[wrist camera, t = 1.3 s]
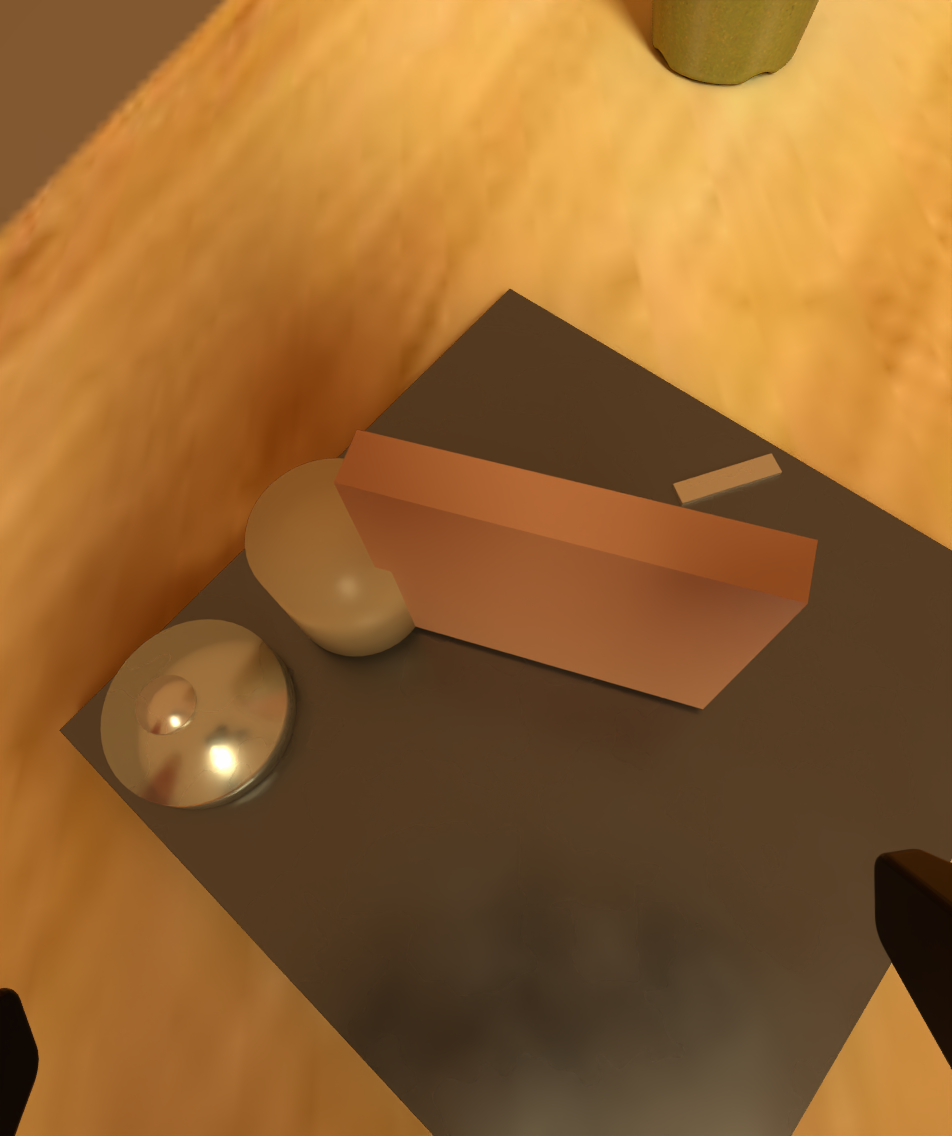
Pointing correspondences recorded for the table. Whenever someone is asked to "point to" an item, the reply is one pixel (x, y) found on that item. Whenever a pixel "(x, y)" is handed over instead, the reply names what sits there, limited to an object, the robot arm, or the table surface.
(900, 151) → the table surface
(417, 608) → the terracotta tile
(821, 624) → the plate
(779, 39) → the plant pot
